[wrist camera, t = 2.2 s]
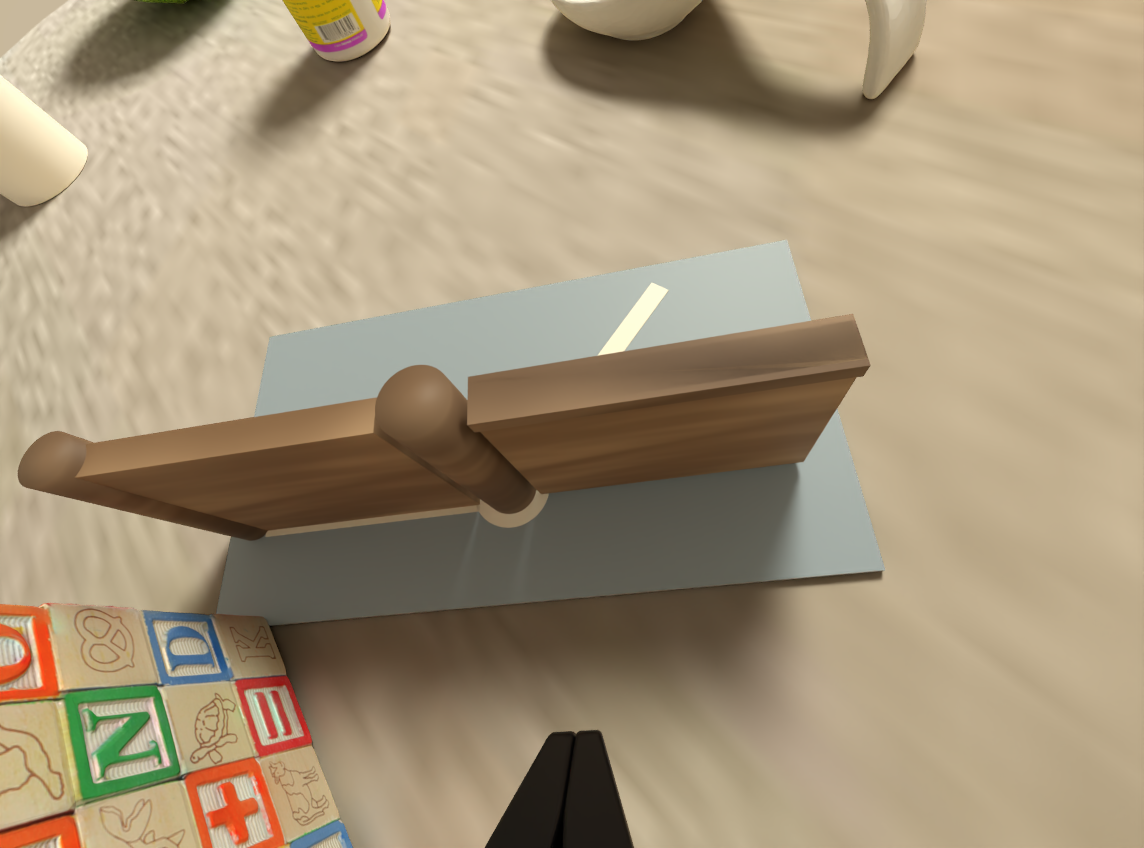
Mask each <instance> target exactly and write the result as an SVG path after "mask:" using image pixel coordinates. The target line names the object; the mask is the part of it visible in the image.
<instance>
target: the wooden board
mask: <svg viewBox="0 0 1144 848" xmlns="http://www.w3.org/2000/svg"><path fill="white" fill-rule="evenodd" d="M869 367H870V363H869V360H868V357H867V354H866V351H865V348H864V345H863V342H862V339H861V336H860V333H859V330H858V327H857V324H856V321H855V318H854V315H853V314H849V315H843V316H837V317H831V318H825V319H819V320H812V321H806V322H800V323H794V324H788V325H782V326H776V327H770V328H763V329H757V330H751V331H745V332H739V333H733V334H727V335H721V336H715V337H708V338H702V339H696V340H690V341H684V342H678V343H672V344H666V345H659V346H653V347H647V348H641V349H635V350H629V351H623V352H617V353H610V354H604V355H598V356H592V357H586V358H580V359H574V360H568V361H561V362H555V363H549V364H543V365H537V366H531V367H525V368H519V369H513V370H506V371H500V372H494V373H488V374H482V375H476V376H470V377H468V400H467V425H468V426H469V427H470V428H471V429H472V430H473V431H474V432H481V433H482V434H483V435H484V436H485V437H486V439H487V440H488V441H489V442H490V443H491V444H492V445H493V446H494V447H495V448H496V449H497V450H498V451H499V452H500V453H501V454H502V455H503V456H504V457H505V458H506V459H507V460H508V461H509V462H510V463H511V464H512V465H513V466H514V467H515V468H516V469H517V470H518V471H519V472H520V473H521V474H522V475H523V476H524V477H525V478H526V479H527V480H528V481H529V482H530V484H531V485H532V486H533V487H534V488H535V489H536V490H537V491H538V492H539V493H540V494H548V493H556V492H564V491H572V490H580V489H588V488H596V487H604V486H613V485H621V484H629V483H637V482H645V481H653V480H661V479H670V478H678V477H686V476H694V475H702V474H710V473H718V472H726V471H735V470H743V469H751V468H759V467H767V466H775V465H783V464H792V463H800V462H804V460H805V459H806V457H807V456H808V454H809V452H810V451H811V449H812V448H813V446H814V444H815V443H816V441H817V440H818V438H819V436H820V435H821V433H822V432H823V430H824V428H825V427H826V425H827V424H828V422H829V420H830V419H831V417H832V416H833V414H834V412H835V411H836V409H837V408H838V406H839V405H840V403H841V401H842V400H843V398H844V397H845V395H846V393H847V392H848V390H849V389H850V387H851V385H852V384H853V382H854V381H855V379H856V377H861V376H864V375H865V373H866V371H867V370H868V368H869Z"/></svg>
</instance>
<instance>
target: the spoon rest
mask: <svg viewBox="0 0 1144 848" xmlns="http://www.w3.org/2000/svg"><path fill="white" fill-rule="evenodd" d="M551 1H552V3H553V4H554V5H555V6H556V7H557V9H558V10H559V11H560V12H561V13H562V14H563V15H564V16H566V17H567V18H568V19H569V20H571V21H572V22H574V23H575V24H577V25H579V26H581V27H582V28H584V29H587V30H589V31H592V32H596V33H599V34H603V35H608V36H612V37H615V38H618V39H623V40H630V41H631V40H644V39H649V38H653V37H656V36H659V35H661V34H663V33H665V32H667V31H669V30H671V29H672V28H674V27H675V26H677V25H678V24H679V23H680V22H681V21H682V20H683V19H684V18H685V17H686V15H687V14H689V13H690V12H691V11H692V10H693V9H694V8H695V7H696V6H698V5H699V4H700V3H701V2H702V1H703V0H551ZM926 1H927V0H865V2H866V5H867V9H868V14H869V22H870V42H869V52H868V59H867V64H866V70H865V75H864V81H863V89H862V91H863V94H864V95H865V97H866V98H868V99H874V98H876V97H877V96H878V95H880V94H881V93H882V92H883V90H884V89H885V88H886V87H887V86H888V84H889V83H890V82H891V81H892V79H893V78H894V77H895V76H896V74H897V73H898V72H899V71H900V70H901V69H902V67H903V66H904V65H905V64H906V62H907V61H908V60H909V58H910V57H911V56H912V55H913V53H914V51H915V50H916V48H917V46H918V44H919V41H920V37H921V34H922V30H923V26H924V20H925V13H926Z"/></svg>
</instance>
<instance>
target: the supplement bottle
mask: <svg viewBox="0 0 1144 848" xmlns="http://www.w3.org/2000/svg"><path fill="white" fill-rule="evenodd" d="M283 2H284V4H285V5H286V7H287V8H288V10H289V11H290V13H291V14H292V16H293V18H294V19H295V21H296V22H297V24H298V25H299V27H300V28H301V30H302V32H303V33H304V35H305V36H306V38H307V39H308V41H309V42H310V44H311V46H312V47H313V48H314V50H315V51H316V53H317V54H318V55H319V56H321V57H322V58H324V59H326V60H330V61H348V60H352V59H355V58H358V57H360V56H362V55H364V54H366V53H367V52H369V51H370V50H371V49H373V48H374V47H375V46H376V45H377V44H378V43H379V42H380V41H381V40H382V39H383V38H384V37H385V35H386V33H387V31H388V29H389V26H390V14H389V11H388V9H387V7H386V4H385V2H384V0H283Z"/></svg>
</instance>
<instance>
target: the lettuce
mask: <svg viewBox="0 0 1144 848" xmlns="http://www.w3.org/2000/svg"><path fill="white" fill-rule="evenodd" d="M136 1H142V2H154V3H182V4H184V3H185V2H187V1H188V0H136Z"/></svg>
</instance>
